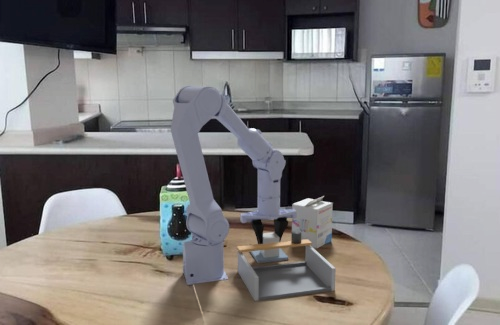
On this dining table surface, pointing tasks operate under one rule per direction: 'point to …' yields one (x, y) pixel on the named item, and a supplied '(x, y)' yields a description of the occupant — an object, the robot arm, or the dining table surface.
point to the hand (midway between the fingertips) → (268, 246)
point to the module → (270, 238)
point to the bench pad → (261, 259)
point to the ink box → (313, 221)
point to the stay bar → (277, 244)
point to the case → (288, 277)
